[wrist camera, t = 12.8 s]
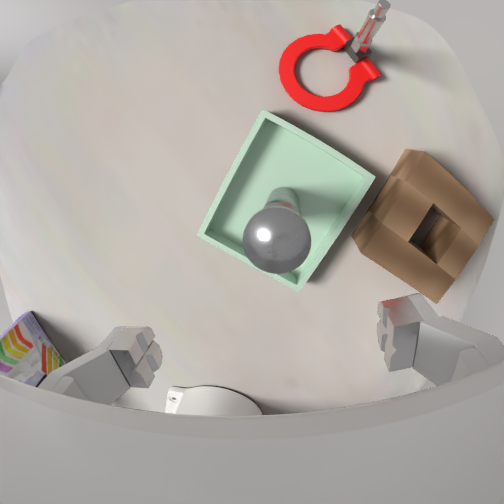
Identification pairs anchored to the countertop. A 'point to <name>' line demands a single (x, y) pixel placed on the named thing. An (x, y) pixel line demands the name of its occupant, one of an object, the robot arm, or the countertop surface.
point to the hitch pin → (278, 234)
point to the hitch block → (409, 218)
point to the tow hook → (334, 42)
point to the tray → (294, 177)
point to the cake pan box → (27, 352)
